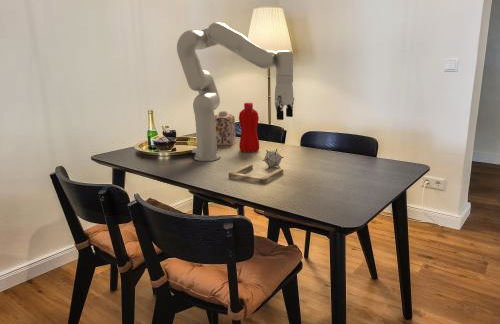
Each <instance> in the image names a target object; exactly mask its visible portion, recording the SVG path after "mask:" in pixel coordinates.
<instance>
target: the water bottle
mask: <svg viewBox="0 0 500 324" xmlns="http://www.w3.org/2000/svg"><path fill="white" fill-rule="evenodd" d="M243 107H244V108H242V110H241V111H240V112H239V113H238V114H239V115H238V121H239V125H240V129H241V132H240V137H239V144H238V145H239V148H238V149H239V150H240V151H241V152H244V153H249V154H250V153H255V152H258V151H259V150H260V141H259V140H260V139H259V137H258V133H257V132H258V125H259V119H260V117H259V113H258V111H257V110H256V109H254V108H253V107H254V103H252V102H244V103H243Z"/></svg>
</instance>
